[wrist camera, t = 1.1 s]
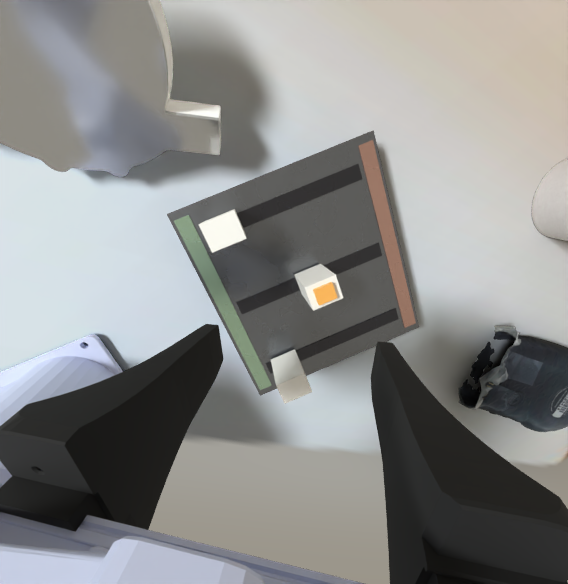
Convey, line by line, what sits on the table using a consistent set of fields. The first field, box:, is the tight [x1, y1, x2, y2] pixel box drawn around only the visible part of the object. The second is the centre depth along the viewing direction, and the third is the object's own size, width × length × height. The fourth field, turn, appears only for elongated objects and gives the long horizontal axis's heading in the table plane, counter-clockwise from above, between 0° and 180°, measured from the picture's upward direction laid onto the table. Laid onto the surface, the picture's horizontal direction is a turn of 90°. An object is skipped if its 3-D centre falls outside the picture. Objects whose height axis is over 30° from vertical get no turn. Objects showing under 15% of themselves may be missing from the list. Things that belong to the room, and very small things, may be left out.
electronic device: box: [459, 326, 568, 432], centre depth 28 cm, size 9×6×15 cm
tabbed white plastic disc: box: [0, 0, 221, 177], centre depth 13 cm, size 15×8×11 cm, turn 86°
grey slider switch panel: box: [167, 131, 419, 395], centre depth 21 cm, size 14×15×2 cm
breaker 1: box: [198, 209, 247, 253], centre depth 16 cm, size 2×2×3 cm
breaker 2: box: [271, 349, 312, 403], centre depth 20 cm, size 2×2×3 cm
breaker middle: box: [295, 264, 343, 311], centre depth 18 cm, size 2×2×4 cm
